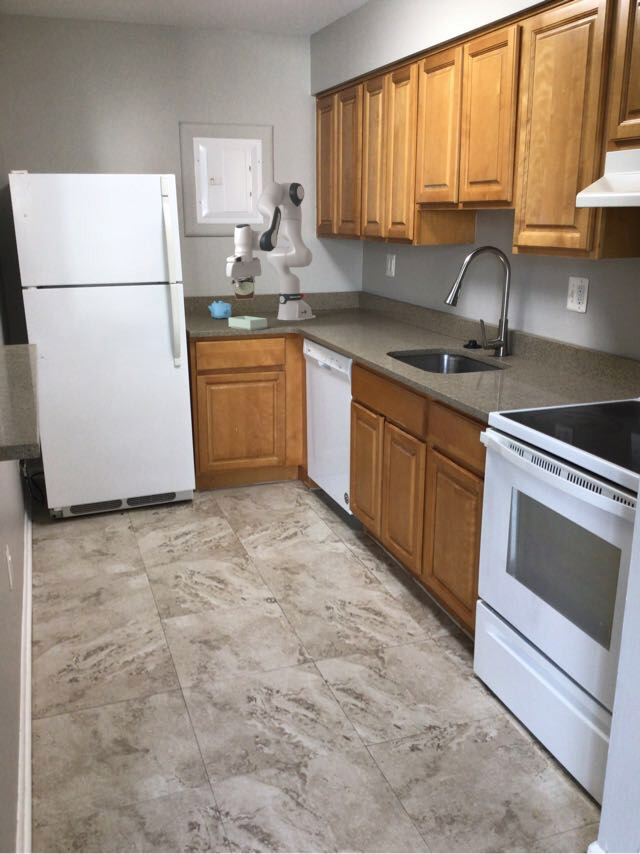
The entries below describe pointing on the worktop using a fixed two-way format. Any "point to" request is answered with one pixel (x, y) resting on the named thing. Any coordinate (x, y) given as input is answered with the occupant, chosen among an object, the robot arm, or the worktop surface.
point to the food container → (244, 288)
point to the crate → (248, 323)
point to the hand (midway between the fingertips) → (244, 286)
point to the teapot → (220, 310)
